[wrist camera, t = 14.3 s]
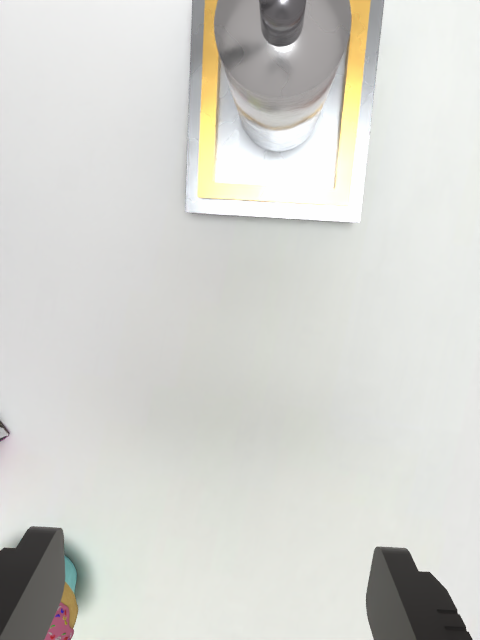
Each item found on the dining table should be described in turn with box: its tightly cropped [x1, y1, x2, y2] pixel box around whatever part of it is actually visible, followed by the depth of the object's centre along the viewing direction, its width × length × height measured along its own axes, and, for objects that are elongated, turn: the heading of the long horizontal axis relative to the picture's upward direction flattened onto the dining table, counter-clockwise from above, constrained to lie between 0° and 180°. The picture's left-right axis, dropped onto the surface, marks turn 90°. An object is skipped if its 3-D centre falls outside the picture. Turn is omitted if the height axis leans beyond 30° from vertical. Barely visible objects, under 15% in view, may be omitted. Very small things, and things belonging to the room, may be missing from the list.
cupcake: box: [44, 555, 78, 640], centre depth 36 cm, size 9×8×12 cm
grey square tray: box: [185, 0, 384, 223], centre depth 31 cm, size 12×14×4 cm
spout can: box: [214, 0, 351, 152], centre depth 23 cm, size 5×5×15 cm
